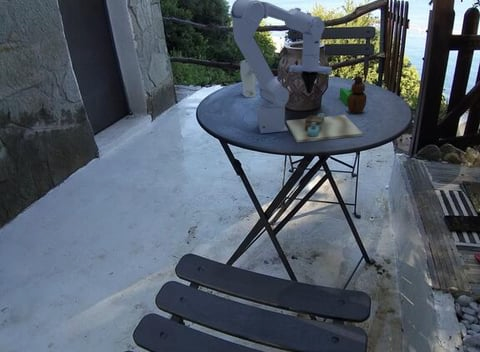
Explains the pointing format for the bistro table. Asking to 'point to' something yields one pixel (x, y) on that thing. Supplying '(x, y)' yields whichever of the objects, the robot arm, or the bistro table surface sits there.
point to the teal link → (315, 127)
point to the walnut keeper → (313, 119)
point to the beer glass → (247, 79)
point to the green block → (344, 95)
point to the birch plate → (325, 129)
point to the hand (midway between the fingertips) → (309, 92)
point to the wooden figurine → (357, 96)
